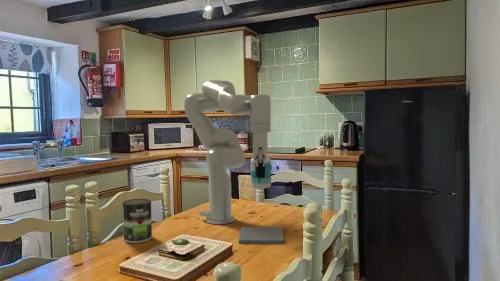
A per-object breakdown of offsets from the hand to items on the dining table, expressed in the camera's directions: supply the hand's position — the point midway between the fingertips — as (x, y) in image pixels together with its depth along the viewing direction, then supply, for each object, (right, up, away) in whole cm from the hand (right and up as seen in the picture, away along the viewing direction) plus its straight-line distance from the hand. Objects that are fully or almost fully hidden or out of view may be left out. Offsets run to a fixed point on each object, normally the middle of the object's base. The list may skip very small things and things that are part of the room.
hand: (260, 175), depth 138 cm
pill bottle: (0, -5, 0) cm, 5 cm away
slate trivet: (0, -23, +1) cm, 23 cm away
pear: (-28, -25, -15) cm, 40 cm away
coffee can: (-46, -24, 0) cm, 52 cm away
